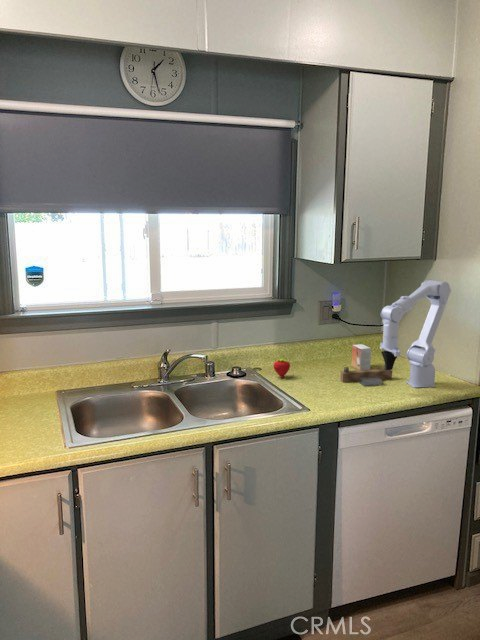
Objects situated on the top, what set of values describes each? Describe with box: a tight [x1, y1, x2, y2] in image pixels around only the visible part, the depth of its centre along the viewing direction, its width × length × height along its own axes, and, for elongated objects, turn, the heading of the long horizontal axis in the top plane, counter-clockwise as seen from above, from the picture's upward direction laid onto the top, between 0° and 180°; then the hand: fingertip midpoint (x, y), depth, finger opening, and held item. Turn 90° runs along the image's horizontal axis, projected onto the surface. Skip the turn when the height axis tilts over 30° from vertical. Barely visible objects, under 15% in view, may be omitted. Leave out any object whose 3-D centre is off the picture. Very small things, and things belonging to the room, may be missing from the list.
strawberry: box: [272, 355, 291, 378], centre depth 234 cm, size 6×8×10 cm
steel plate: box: [358, 376, 383, 387], centre depth 225 cm, size 8×6×2 cm
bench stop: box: [339, 364, 393, 383], centre depth 229 cm, size 22×3×6 cm, turn 98°
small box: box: [350, 343, 372, 370], centre depth 246 cm, size 8×6×10 cm
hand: (389, 369), depth 213 cm, fingers closed
